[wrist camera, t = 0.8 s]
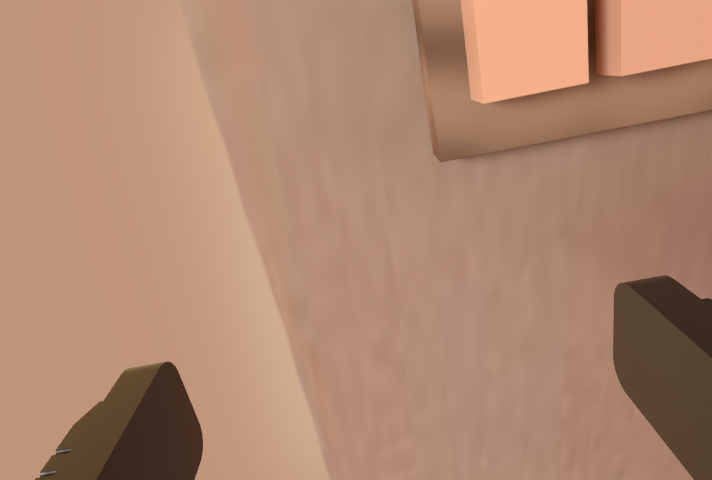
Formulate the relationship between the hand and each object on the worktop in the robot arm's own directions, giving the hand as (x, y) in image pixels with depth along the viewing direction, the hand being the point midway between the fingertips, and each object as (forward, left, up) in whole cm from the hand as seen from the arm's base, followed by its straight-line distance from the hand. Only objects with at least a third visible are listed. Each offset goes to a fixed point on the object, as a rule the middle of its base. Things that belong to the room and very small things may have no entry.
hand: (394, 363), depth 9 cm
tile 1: (-4, +9, -19) cm, 21 cm away
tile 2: (-4, +15, -19) cm, 25 cm away
